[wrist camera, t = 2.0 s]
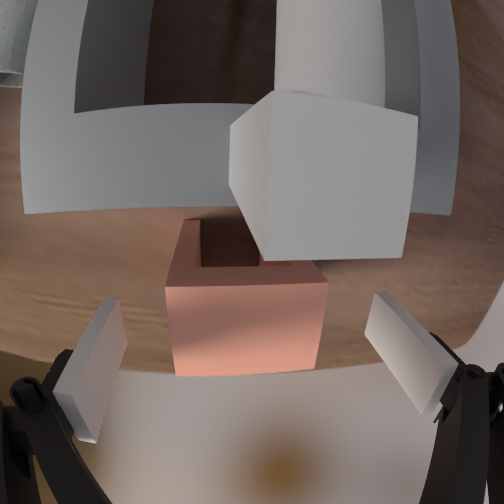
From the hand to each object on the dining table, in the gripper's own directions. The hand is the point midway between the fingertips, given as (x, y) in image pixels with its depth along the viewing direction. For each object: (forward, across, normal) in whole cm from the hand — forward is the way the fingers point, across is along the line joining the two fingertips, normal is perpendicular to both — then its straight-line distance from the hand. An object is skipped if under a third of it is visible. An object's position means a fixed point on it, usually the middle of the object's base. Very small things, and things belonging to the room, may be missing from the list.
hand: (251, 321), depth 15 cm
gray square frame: (+10, 0, +16) cm, 18 cm away
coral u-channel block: (+10, 0, 0) cm, 10 cm away
